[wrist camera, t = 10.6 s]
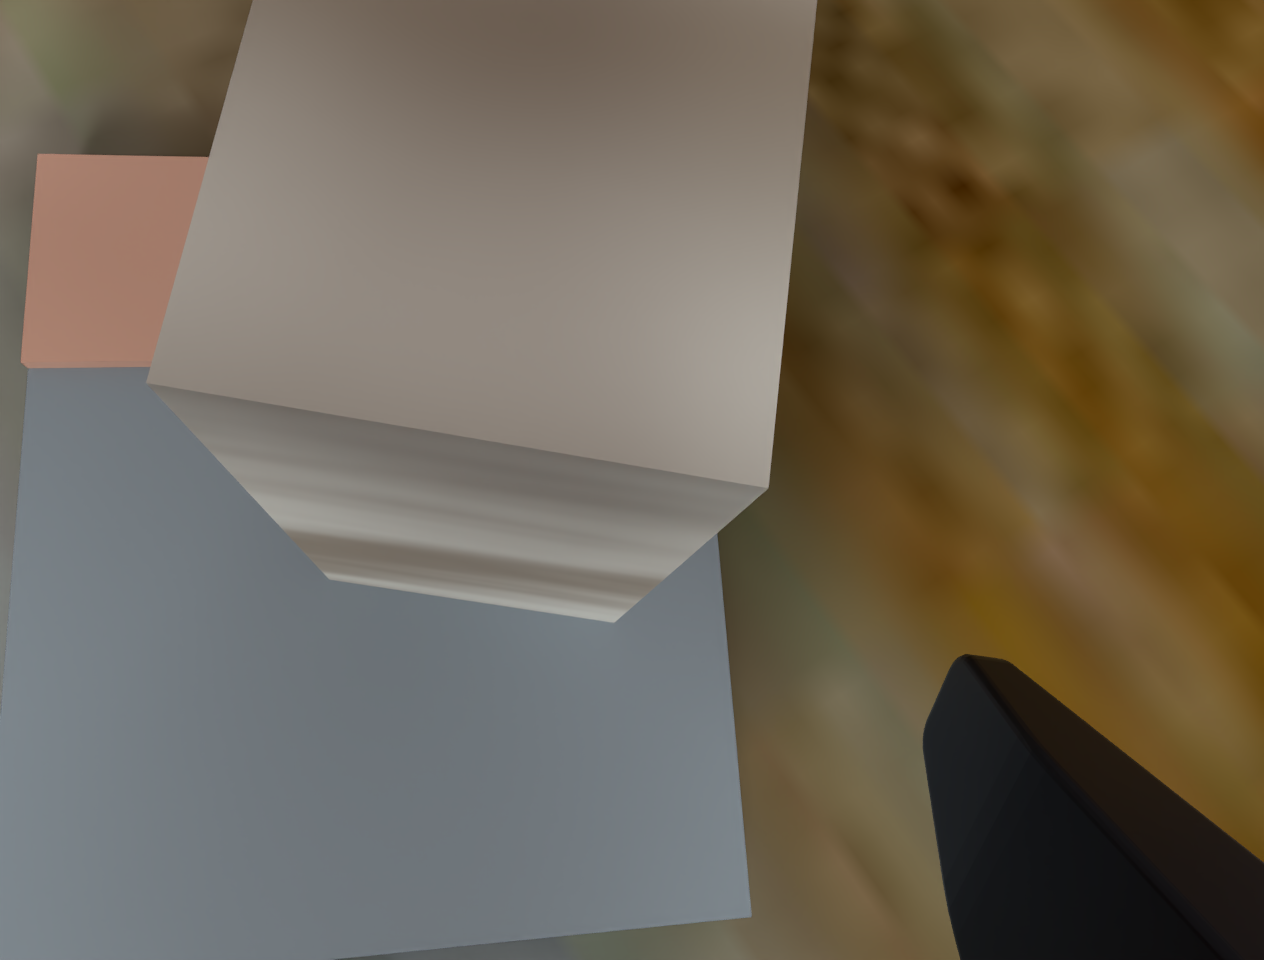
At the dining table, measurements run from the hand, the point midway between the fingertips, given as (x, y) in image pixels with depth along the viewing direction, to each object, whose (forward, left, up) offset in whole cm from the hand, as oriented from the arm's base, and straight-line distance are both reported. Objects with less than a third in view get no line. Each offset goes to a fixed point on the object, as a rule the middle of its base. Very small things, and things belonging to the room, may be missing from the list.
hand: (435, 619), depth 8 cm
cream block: (+4, -1, -9) cm, 10 cm away
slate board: (+3, +1, -10) cm, 11 cm away
